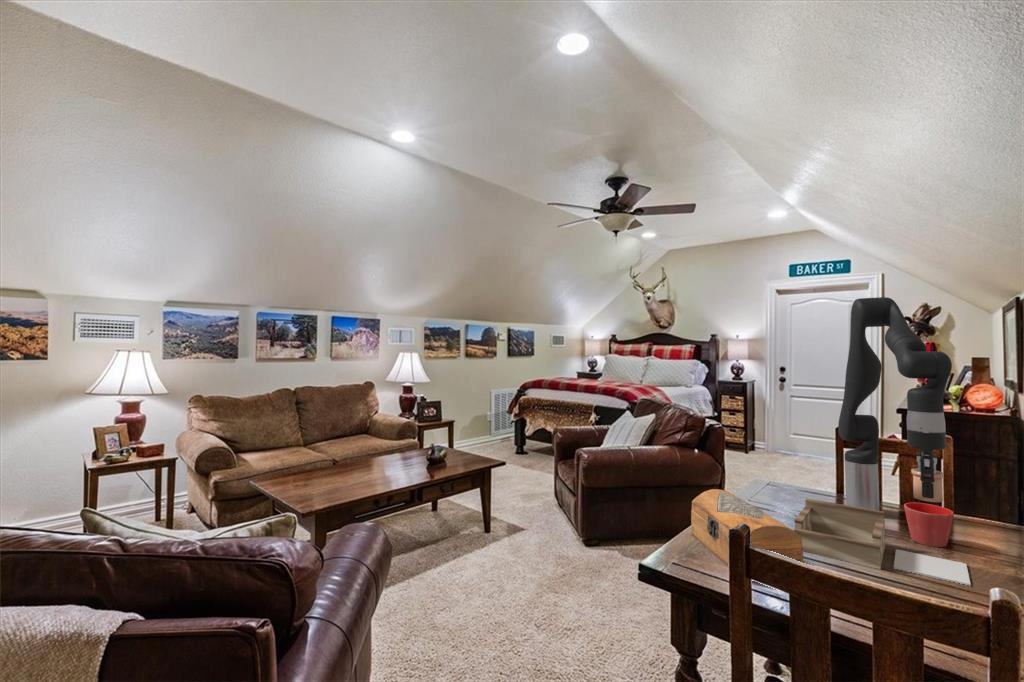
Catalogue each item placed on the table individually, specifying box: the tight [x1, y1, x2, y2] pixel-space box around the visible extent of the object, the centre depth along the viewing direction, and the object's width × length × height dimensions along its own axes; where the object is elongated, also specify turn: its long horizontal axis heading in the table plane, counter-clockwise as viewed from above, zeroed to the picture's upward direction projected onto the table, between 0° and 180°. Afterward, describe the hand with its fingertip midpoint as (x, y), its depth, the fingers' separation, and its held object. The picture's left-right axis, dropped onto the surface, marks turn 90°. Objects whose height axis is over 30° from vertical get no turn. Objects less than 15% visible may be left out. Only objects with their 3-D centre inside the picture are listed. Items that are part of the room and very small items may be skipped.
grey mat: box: [893, 548, 971, 587], centre depth 120 cm, size 14×14×1 cm
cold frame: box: [793, 497, 886, 570], centre depth 133 cm, size 19×19×10 cm
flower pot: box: [903, 501, 954, 548], centre depth 136 cm, size 11×11×10 cm
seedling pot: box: [910, 467, 944, 503], centre depth 121 cm, size 6×6×9 cm
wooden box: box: [690, 488, 804, 583], centre depth 129 cm, size 30×16×14 cm, turn 2°
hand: (927, 494), depth 121 cm, fingers closed on seedling pot, 5 cm apart
